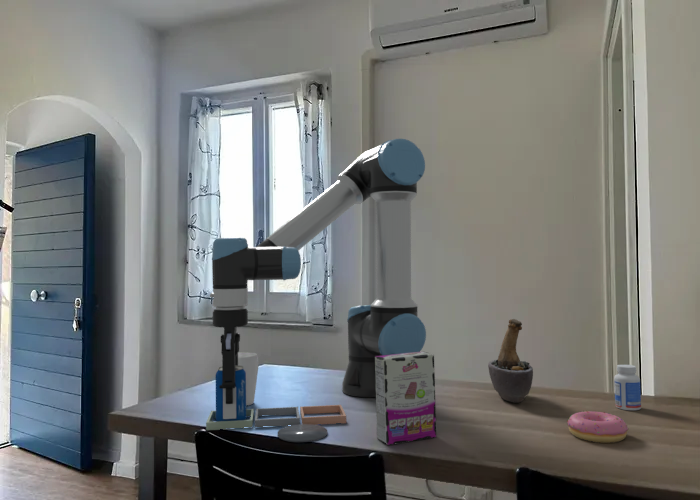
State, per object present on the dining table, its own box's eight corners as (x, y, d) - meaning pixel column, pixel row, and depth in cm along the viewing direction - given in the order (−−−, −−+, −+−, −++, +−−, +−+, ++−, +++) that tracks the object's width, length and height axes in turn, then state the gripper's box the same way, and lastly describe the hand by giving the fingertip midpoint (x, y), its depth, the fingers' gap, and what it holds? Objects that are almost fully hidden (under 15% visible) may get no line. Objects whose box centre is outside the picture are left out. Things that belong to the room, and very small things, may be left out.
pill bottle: (644, 407, 130) (643, 365, 131) (637, 412, 127) (636, 369, 127) (619, 403, 134) (618, 363, 134) (611, 408, 130) (610, 366, 130)
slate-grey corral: (298, 413, 129) (297, 406, 129) (299, 425, 119) (299, 418, 119) (256, 415, 127) (256, 408, 128) (254, 427, 118) (254, 420, 118)
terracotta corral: (341, 411, 130) (341, 404, 130) (346, 423, 121) (346, 415, 121) (300, 413, 129) (300, 406, 129) (302, 425, 119) (302, 417, 119)
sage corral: (253, 415, 127) (253, 408, 127) (252, 428, 118) (252, 420, 118) (211, 417, 126) (211, 410, 126) (206, 430, 117) (206, 422, 117)
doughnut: (641, 442, 106) (641, 420, 107) (593, 448, 103) (593, 425, 103) (600, 426, 117) (600, 406, 117) (555, 431, 114) (555, 410, 114)
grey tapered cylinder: (250, 408, 134) (250, 358, 134) (215, 407, 136) (215, 357, 136) (264, 399, 143) (263, 352, 143) (230, 398, 144) (230, 351, 145)
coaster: (324, 425, 119) (324, 423, 119) (329, 440, 109) (329, 437, 109) (277, 428, 117) (277, 425, 118) (277, 443, 108) (277, 440, 108)
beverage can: (231, 428, 118) (231, 371, 118) (209, 424, 121) (209, 368, 121) (252, 421, 123) (251, 366, 123) (230, 417, 127) (230, 364, 127)
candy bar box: (424, 431, 114) (422, 350, 115) (437, 438, 110) (435, 354, 110) (374, 438, 110) (373, 354, 110) (386, 446, 105) (385, 358, 106)
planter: (524, 410, 129) (522, 323, 129) (465, 398, 142) (463, 319, 142) (556, 399, 139) (555, 319, 139) (498, 389, 151) (497, 314, 152)
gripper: (217, 305, 132) (217, 403, 131) (207, 312, 113) (208, 427, 112) (249, 304, 133) (250, 402, 132) (245, 311, 114) (246, 425, 113)
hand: (231, 413), depth 122 cm, fingers closed on beverage can, 6 cm apart
